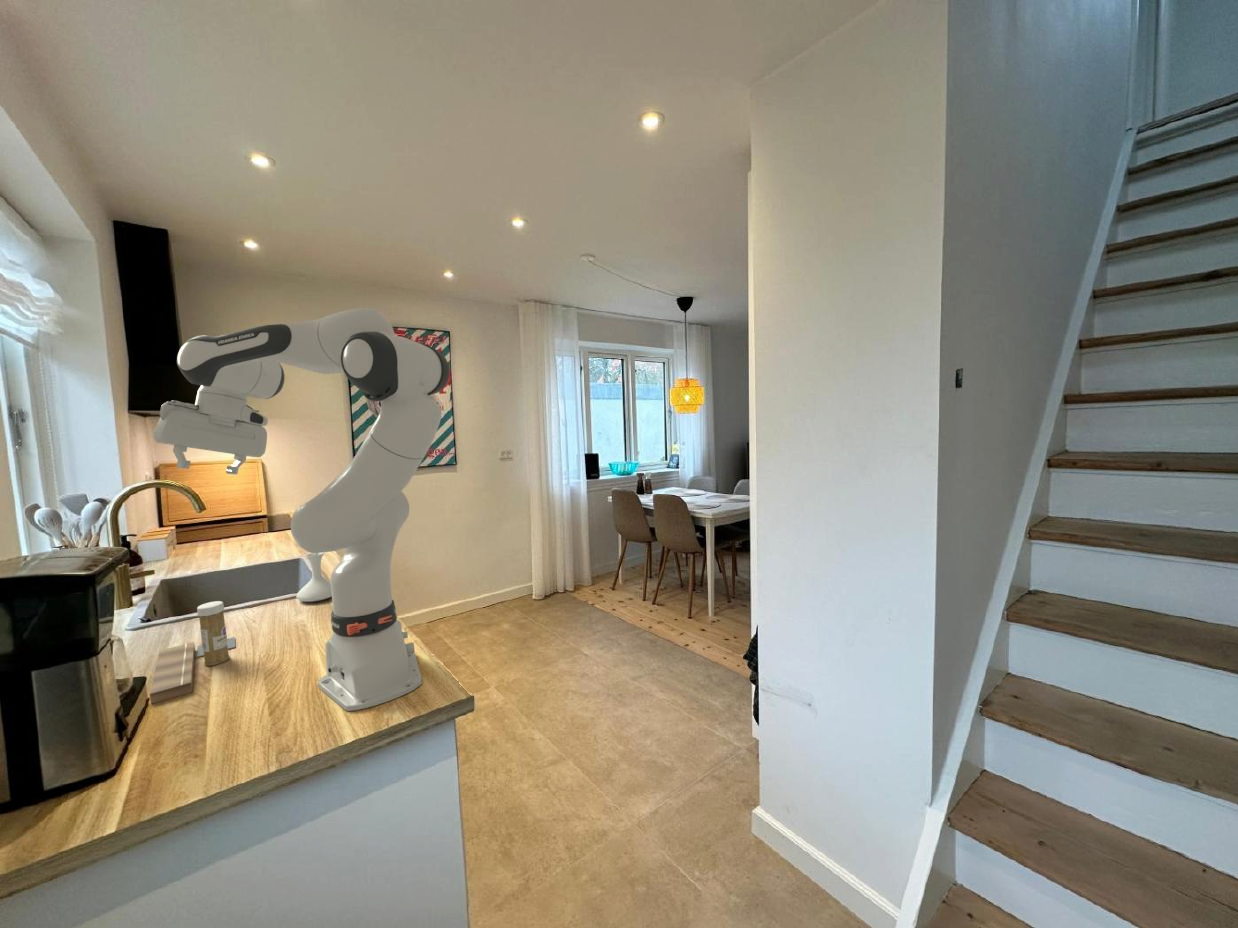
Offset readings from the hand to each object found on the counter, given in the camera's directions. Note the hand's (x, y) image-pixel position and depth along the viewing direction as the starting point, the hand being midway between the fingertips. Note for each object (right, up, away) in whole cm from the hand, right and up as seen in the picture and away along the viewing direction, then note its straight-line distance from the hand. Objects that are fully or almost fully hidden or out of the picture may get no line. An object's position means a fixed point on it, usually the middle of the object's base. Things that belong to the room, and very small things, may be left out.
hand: (208, 471), depth 108 cm
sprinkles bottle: (0, -43, +3) cm, 44 cm away
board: (-5, -44, -2) cm, 44 cm away
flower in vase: (0, -39, +41) cm, 57 cm away
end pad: (-6, -43, +10) cm, 44 cm away
